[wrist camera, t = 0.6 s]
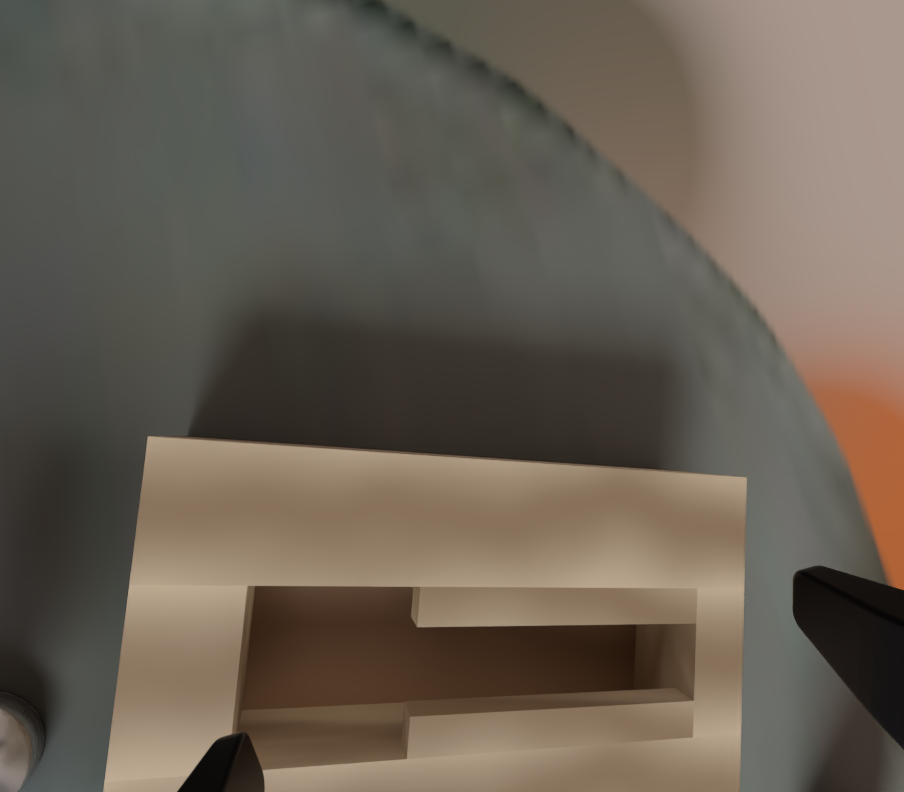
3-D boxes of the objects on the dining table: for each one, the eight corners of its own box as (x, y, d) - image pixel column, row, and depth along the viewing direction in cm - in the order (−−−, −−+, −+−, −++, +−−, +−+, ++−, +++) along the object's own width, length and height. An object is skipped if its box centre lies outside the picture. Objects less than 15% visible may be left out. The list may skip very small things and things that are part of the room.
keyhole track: (649, 769, 24) (738, 855, 19) (141, 815, 18) (83, 949, 14) (661, 469, 25) (746, 477, 20) (186, 436, 20) (148, 436, 15)
